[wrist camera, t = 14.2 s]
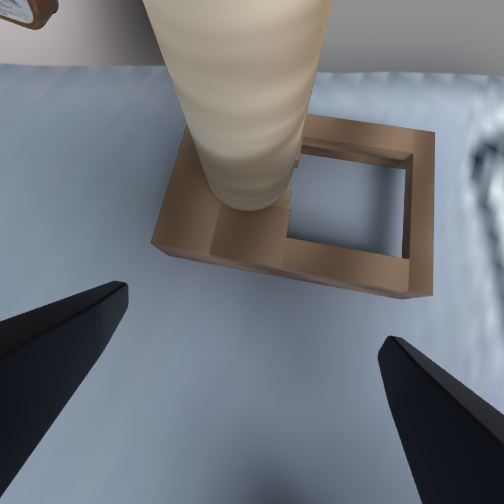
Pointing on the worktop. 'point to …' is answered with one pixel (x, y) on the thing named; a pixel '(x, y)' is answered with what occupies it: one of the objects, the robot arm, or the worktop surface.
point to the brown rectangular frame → (276, 219)
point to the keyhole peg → (243, 87)
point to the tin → (28, 12)
